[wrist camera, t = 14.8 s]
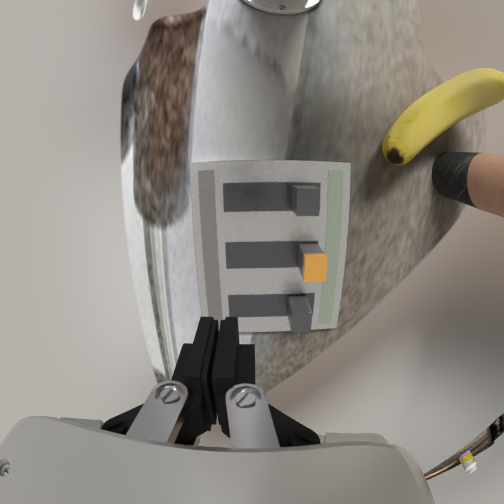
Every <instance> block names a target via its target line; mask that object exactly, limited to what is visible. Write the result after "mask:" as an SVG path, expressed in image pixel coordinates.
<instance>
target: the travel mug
mask: <svg viewBox="0 0 504 504" xmlns="http://www.w3.org/2000/svg"><path fill="white" fill-rule="evenodd" d="M432 178H433V183H434V185H435V188H436V189H437V191H438V192H439V193H440V194H441V195H443V196H445V197H448V198H450V199H453V200H456V201H459V202H462V203H465V204H467V205H470V206H473V207H475V208H478V209H481V210H484V211H487V212H490V213H493V214H496V215H499V216H501V217H504V156H503V155H496V154H488V153H469V152H446V153H442V154H440V155H439V156H438V157H437V158H436V160H435V162H434V164H433V169H432Z"/></svg>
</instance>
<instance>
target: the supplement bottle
mask: <svg viewBox="0 0 504 504" xmlns="http://www.w3.org/2000/svg"><path fill="white" fill-rule="evenodd" d="M459 460H460V462H461V464H462V466H463V468H464V470H465V471H468V473H469V474H470V473H472V472H473V471H475V470H476V469H477V467H476V466H475V464H476V461H475V459H474V457H473V456H472V454H471V452H470V451H466V452H465V453H464V454H462V455H461V456H460V457H459Z"/></svg>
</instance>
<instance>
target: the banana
mask: <svg viewBox="0 0 504 504" xmlns="http://www.w3.org/2000/svg"><path fill="white" fill-rule="evenodd" d="M503 99H504V73H502V72H500V71H497V70H495V69H490V68H480V69H475V70H471V71H468V72H465V73H463V74H460V75H458V76H456V77H454V78H452V79H450V80H448V81H446V82H444V83H442V84H441V85H439V86H437V87H435V88H434V89H432V90H431V91H429V92H427V93H426V94H424V95H423V96H422V97H420V98H419V99H418V100H416V101H415V102H414V103H413V104H411V105H410V106H409V107H408V108H407V109H406V110H405V111H404V112H403V113H402V114H401V115H400V116H399V117H398V119H397V120H396V121H395V122H394V123H393V125H392V126H391V128H390V129H389V130H388V132H387V133H386V135H385V137H384V139H383V142H382V151H383V154H384V156H385V158H386V159H387V161H389V162H390V163H392V164H395V165H404V164H406V163H408V162H409V161H411V160H412V159H413V158H414V157H415V156H416V155H417V154H418V153H419V152H420V151H421V150H422V149H423V148H424V147H426V146H427V145H428V144H429V143H430V142H432V141H433V140H434V139H435V138H437V137H438V136H439V135H440V134H442V133H443V132H444V131H446V130H447V129H448V128H450V127H451V126H453V125H455V124H456V123H458V122H459V121H461V120H463V119H465V118H467V117H469V116H471V115H473V114H475V113H477V112H479V111H481V110H483V109H485V108H488V107H490V106H492V105H495V104H497V103H499V102H500V101H502V100H503Z"/></svg>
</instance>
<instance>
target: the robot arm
mask: <svg viewBox="0 0 504 504" xmlns="http://www.w3.org/2000/svg"><path fill="white" fill-rule="evenodd" d="M244 1H245V2H246V3H247V4H249V5H250V6H252V7H254V8H256V9H259V10H262V11H265V12H269V13H274V14H297V13H302V12H305V11H308V10H310V9H312V8H313V7H315V6H316V5H317V4H318V3H319V2H320V0H244ZM282 9H283V10H282ZM217 415H218V421H219V424H220V425H221V428H222V432H223V433H224V434H225V435H227V436H228V437H229V438H230V439H231V445H232V448H221V447H204V446H203V447H202V446H198V444H199V442H200V435H201V434H203V433H204V432H206V431H211V424H216V419H217ZM0 504H435V502H434V499H433V496H432V494H431V491H430V488H429V486H428V483H427V481H426V479H425V477H424V474H423V473H422V470H421V468H420V467H419V465H418V463H417V462H416V460H415V459H414V457H413V456H412V455H411V454H410V453H409V452H408V451H407V450H406V449H404V448H403V447H401V446H398V445H395V444H390V443H387V440H386V439H385V438H384V437H383V436H381V435H379V434H373V433H366V434H365V433H364V434H363V433H362V434H351V433H350V434H349V433H326V434H325V435H317V434H316V433H315V432H314V431H312V430H311V429H309V428H307V427H305V426H304V425H302V424H300V423H299V422H297V421H295V420H294V419H292V418H290V417H289V416H287V415H285V414H284V413H282V412H281V411H279V410H277V409H276V408H274V407H273V406H271V405H270V404H268V403H267V399H266V395H265V393H264V391H263V390H262V389H261V388H260V387H258V386H256V385H255V344H239V329H238V317H226V318H225V320H221V323H220V328H219V326H218V320H214V318H213V317H201V318H200V321H199V325H198V328H197V331H196V335H195V338H194V342H193V344H187V343H184V344H183V346H182V349H181V352H180V355H179V358H178V361H177V364H176V367H175V370H174V373H173V376H172V380H170V381H164V382H161V383H159V384H157V385H156V386H155V387H154V388H153V389H152V391H151V393H150V395H149V396H148V398H147V400H146V401H145V403H144V404H142V405H140V406H137V407H135V408H133V409H131V410H129V411H127V412H125V413H122V414H120V415H118V416H116V417H113V418H111V419H109V420H108V421H106V422H105V423H103V422H102V421H101V420H88V419H76V418H55V417H47V416H31V417H26V418H23V419H21V420H20V421H19V422H18V423H17V424H16V425H15V426H14V427H13V428H12V429H11V431H10V432H9V433H8V435H7V436H6V438H5V439H4V441H3V442H2V444H1V446H0Z"/></svg>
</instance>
